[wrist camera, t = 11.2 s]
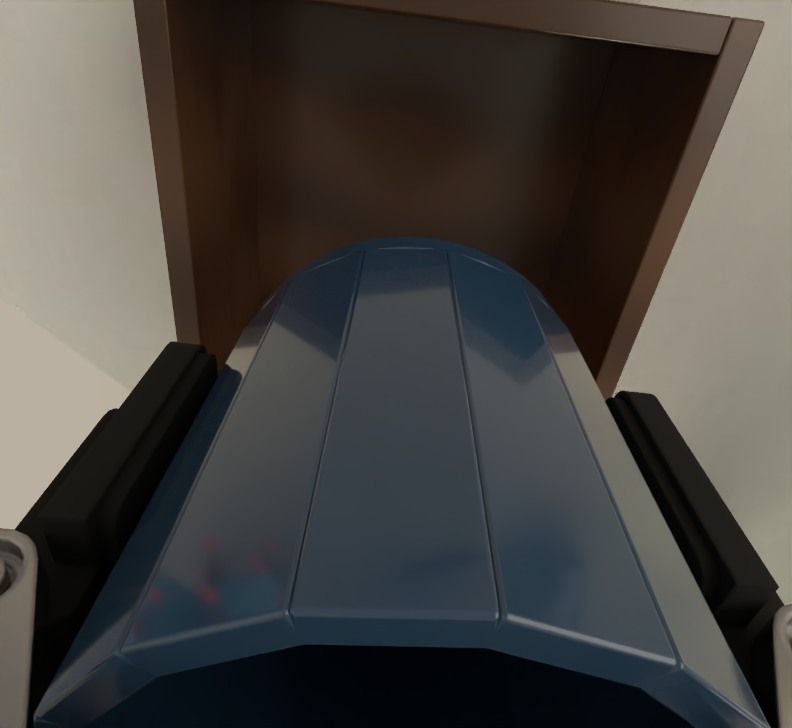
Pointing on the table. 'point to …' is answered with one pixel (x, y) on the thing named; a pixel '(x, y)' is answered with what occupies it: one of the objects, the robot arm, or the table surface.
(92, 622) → the cup
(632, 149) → the chest
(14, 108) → the table surface
